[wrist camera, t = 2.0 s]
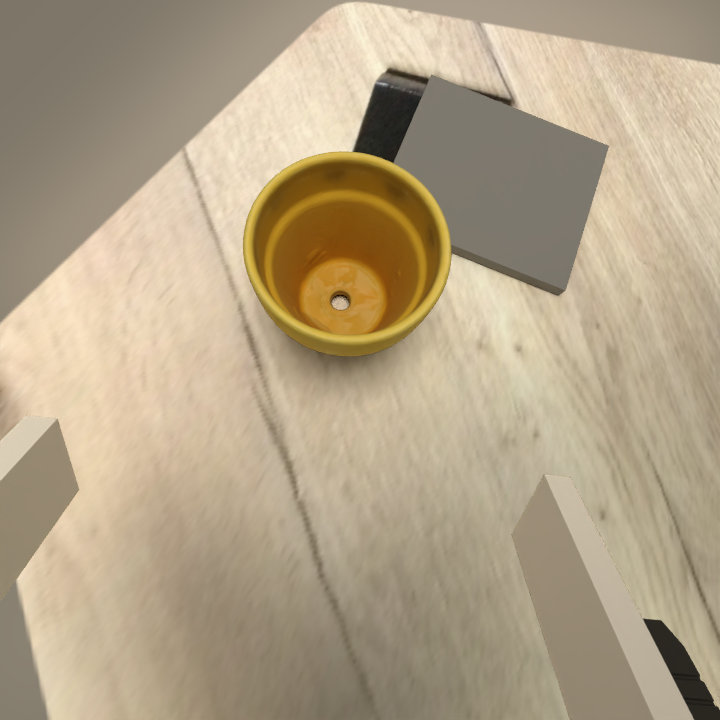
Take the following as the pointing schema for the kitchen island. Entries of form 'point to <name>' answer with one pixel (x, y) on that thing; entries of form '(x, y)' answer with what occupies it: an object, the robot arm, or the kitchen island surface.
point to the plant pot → (346, 252)
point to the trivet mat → (503, 182)
